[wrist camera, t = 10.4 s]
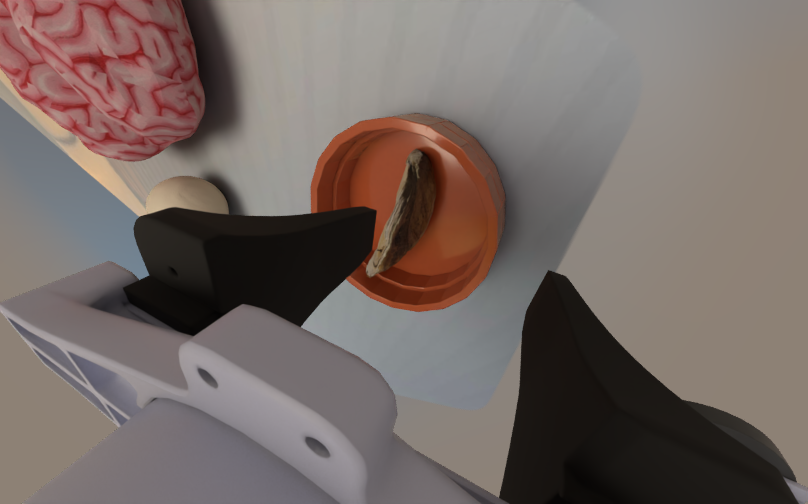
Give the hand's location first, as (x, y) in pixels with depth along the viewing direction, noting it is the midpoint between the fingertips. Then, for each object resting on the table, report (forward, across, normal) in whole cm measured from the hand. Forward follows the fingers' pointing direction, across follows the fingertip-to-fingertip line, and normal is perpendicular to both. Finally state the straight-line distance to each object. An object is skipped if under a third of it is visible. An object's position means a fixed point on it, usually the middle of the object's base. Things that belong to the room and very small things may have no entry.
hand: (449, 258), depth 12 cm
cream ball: (+11, +28, +10) cm, 32 cm away
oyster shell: (+10, +6, +4) cm, 12 cm away
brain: (+11, +33, -4) cm, 35 cm away
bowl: (+10, +5, +3) cm, 12 cm away
